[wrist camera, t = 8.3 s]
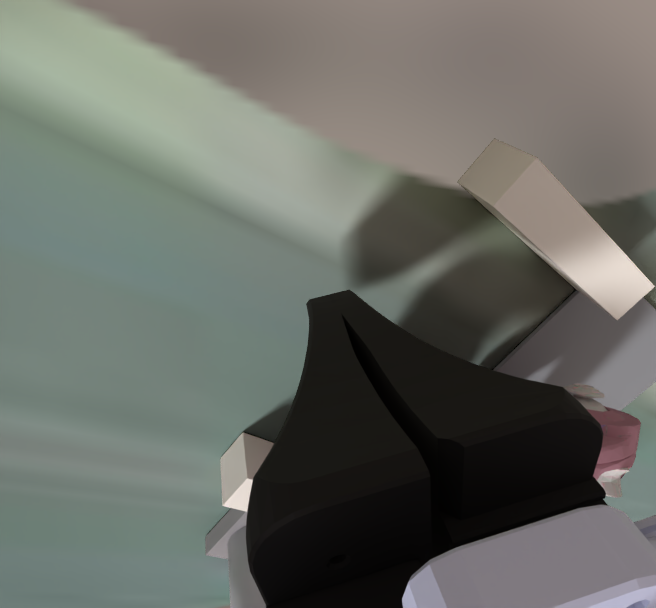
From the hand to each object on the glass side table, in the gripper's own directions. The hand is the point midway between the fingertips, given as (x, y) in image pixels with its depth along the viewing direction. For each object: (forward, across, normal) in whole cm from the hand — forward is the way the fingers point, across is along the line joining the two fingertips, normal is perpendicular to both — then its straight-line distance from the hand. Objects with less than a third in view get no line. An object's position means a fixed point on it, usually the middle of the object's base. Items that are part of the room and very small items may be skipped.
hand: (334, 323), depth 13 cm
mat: (+2, -9, +8) cm, 12 cm away
